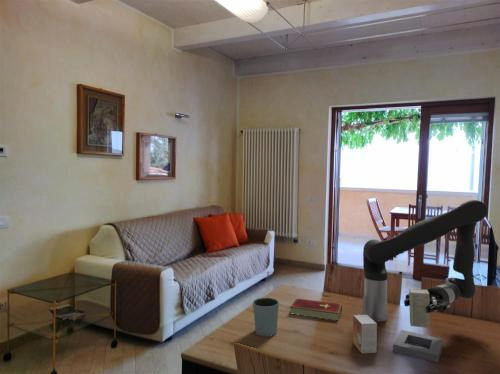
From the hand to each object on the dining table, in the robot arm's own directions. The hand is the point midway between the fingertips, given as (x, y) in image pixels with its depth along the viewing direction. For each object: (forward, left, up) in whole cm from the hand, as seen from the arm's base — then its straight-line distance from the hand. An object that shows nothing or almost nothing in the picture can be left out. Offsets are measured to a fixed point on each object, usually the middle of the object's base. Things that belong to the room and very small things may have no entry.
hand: (416, 306), depth 126 cm
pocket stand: (+1, +2, -15) cm, 16 cm away
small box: (-15, -8, -16) cm, 23 cm away
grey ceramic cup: (-51, -16, -16) cm, 56 cm away
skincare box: (+1, +2, -7) cm, 8 cm away
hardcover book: (-43, +13, -16) cm, 48 cm away
